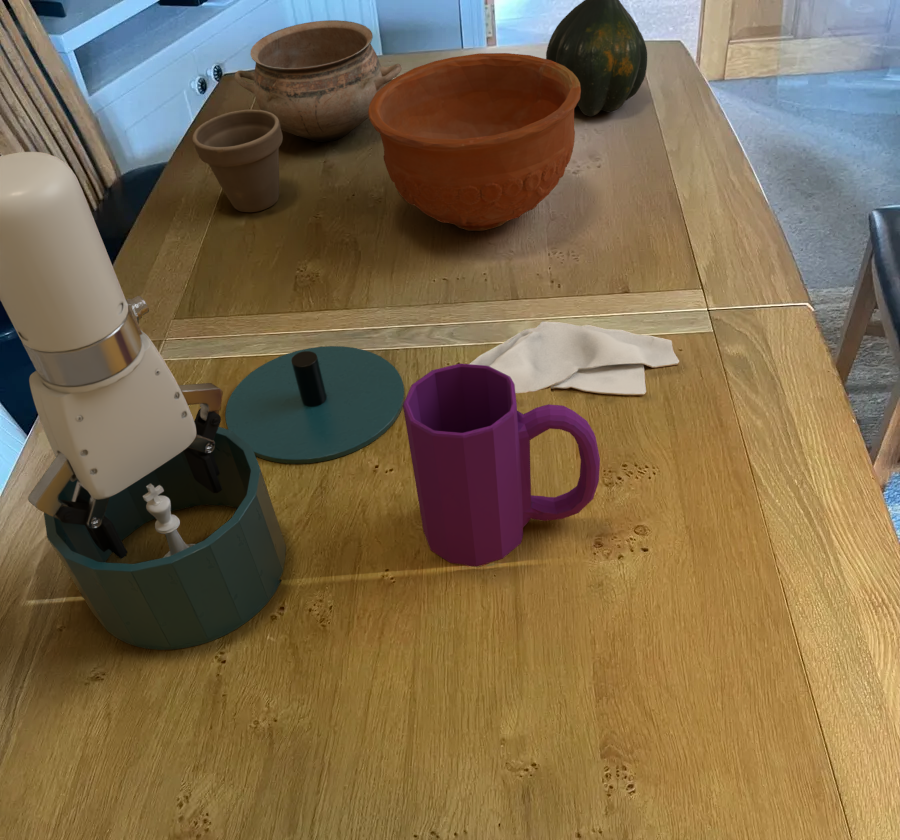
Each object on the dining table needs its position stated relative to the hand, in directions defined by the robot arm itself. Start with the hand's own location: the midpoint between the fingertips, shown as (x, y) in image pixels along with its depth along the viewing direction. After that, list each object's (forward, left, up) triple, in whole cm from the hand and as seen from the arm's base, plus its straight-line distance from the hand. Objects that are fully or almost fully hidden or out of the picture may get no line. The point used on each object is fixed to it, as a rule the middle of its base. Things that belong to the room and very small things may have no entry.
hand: (163, 516), depth 79 cm
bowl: (+29, +59, -7) cm, 66 cm away
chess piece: (0, 0, -7) cm, 7 cm away
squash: (+47, +89, -7) cm, 101 cm away
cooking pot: (+7, +89, -7) cm, 90 cm away
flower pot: (-2, +69, -7) cm, 69 cm away
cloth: (+35, +26, -7) cm, 44 cm away
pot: (0, 0, -7) cm, 7 cm away
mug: (+29, +2, -7) cm, 30 cm away
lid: (+10, +22, -6) cm, 25 cm away
